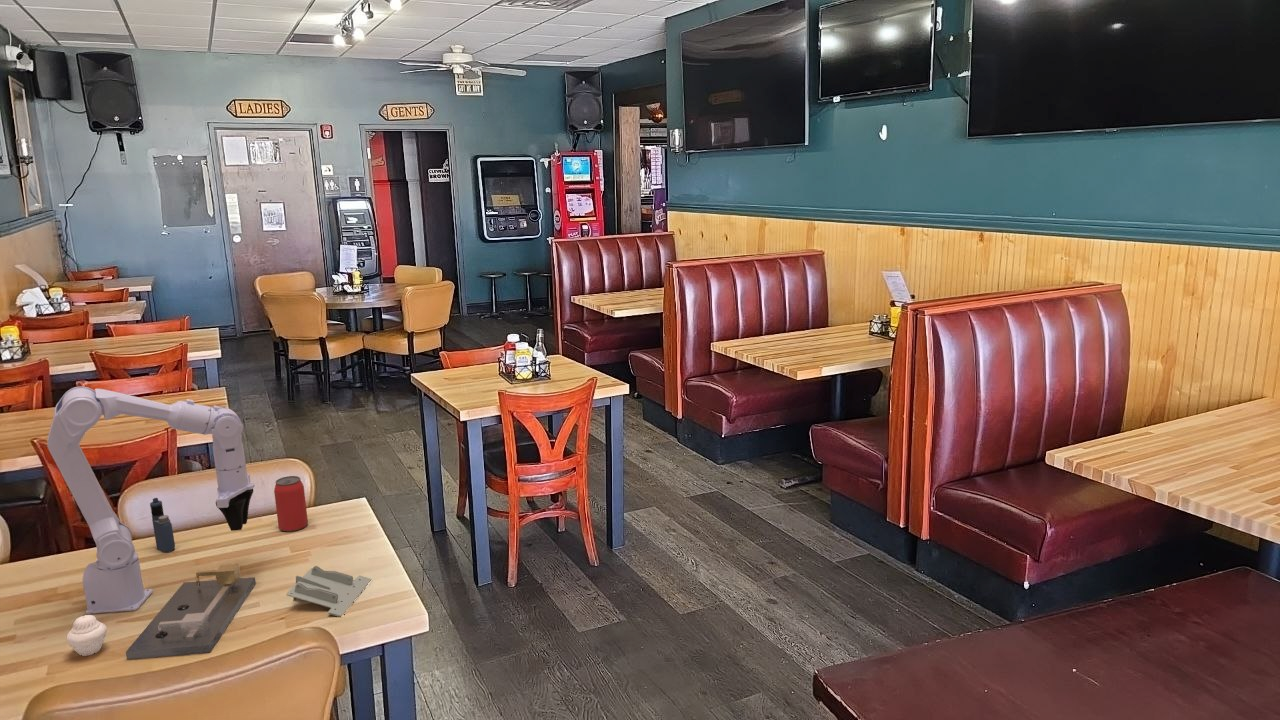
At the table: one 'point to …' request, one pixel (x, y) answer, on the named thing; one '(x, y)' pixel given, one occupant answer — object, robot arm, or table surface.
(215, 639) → the plate
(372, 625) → the table surface
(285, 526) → the beer can
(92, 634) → the muffin
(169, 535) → the vaping device
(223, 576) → the brass slider
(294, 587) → the metal bracket
